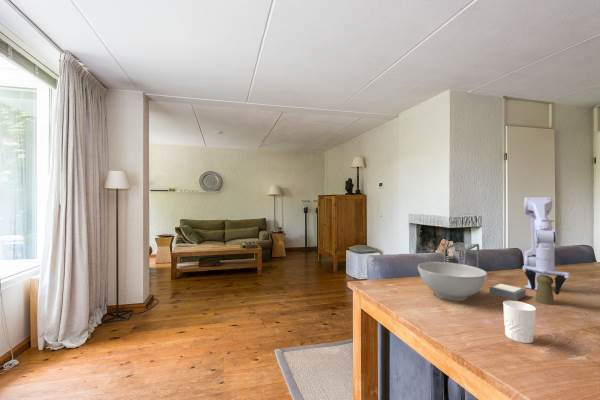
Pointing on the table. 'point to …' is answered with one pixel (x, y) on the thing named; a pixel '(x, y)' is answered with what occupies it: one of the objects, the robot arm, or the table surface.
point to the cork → (544, 290)
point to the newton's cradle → (462, 252)
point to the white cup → (519, 321)
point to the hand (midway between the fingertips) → (544, 291)
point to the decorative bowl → (452, 279)
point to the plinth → (508, 291)
